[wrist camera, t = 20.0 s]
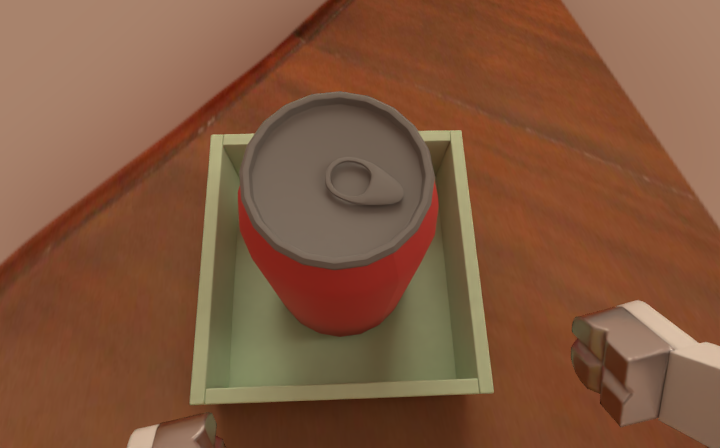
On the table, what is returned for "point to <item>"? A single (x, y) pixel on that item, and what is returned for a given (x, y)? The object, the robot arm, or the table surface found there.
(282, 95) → the table surface
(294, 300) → the beer can
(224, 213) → the tub
